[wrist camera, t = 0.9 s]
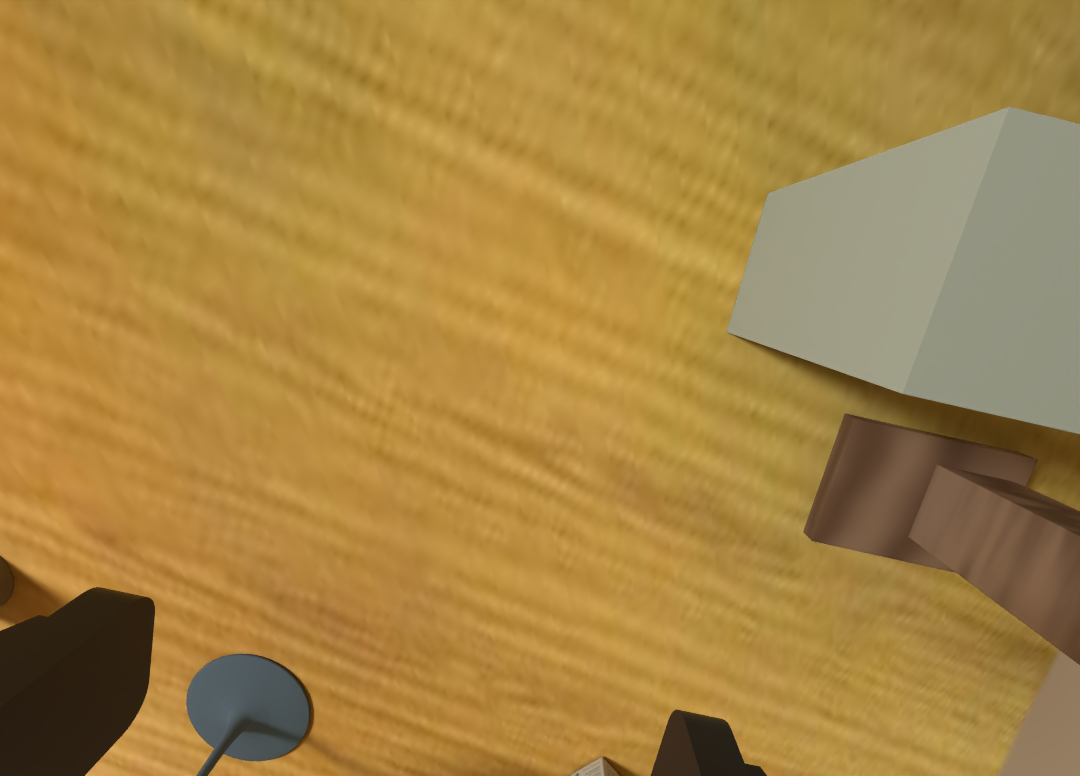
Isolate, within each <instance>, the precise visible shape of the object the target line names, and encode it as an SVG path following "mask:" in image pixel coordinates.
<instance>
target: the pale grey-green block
mask: <svg viewBox="0 0 1080 776" xmlns="http://www.w3.org/2000/svg"><path fill="white" fill-rule="evenodd" d="M727 332H728V333H731V334H734V335H736V336H739V337H742V338H745V339H748V340H751V341H754V342H756V343H759V344H762V345H765V346H768V347H771V348H773V349H776V350H779V351H782V352H785V353H788V354H791V355H793V356H796V357H799V358H802V359H805V360H808V361H811V362H813V363H816V364H819V365H822V366H825V367H828V368H830V369H833V370H836V371H839V372H842V373H845V374H848V375H850V376H853V377H856V378H859V379H862V380H865V381H867V382H870V383H873V384H876V385H879V386H882V387H885V388H887V389H890V390H893V391H896V392H899V393H902V394H906V395H910V396H914V397H919V398H923V399H928V400H932V401H936V402H941V403H945V404H950V405H954V406H958V407H963V408H967V409H972V410H976V411H980V412H985V413H989V414H994V415H998V416H1002V417H1007V418H1011V419H1015V420H1020V421H1024V422H1029V423H1033V424H1037V425H1042V426H1046V427H1051V428H1055V429H1059V430H1064V431H1068V432H1073V433H1077V434H1080V124H1078V123H1074V122H1070V121H1066V120H1062V119H1057V118H1053V117H1049V116H1045V115H1041V114H1037V113H1033V112H1029V111H1024V110H1020V109H1016V108H1012V107H1008V108H1005V109H1002V110H999V111H996V112H994V113H991V114H988V115H985V116H982V117H980V118H977V119H974V120H971V121H969V122H966V123H963V124H960V125H957V126H955V127H952V128H949V129H946V130H943V131H941V132H938V133H935V134H932V135H929V136H927V137H924V138H921V139H918V140H916V141H913V142H910V143H907V144H904V145H902V146H899V147H896V148H893V149H890V150H888V151H885V152H882V153H879V154H877V155H874V156H871V157H868V158H865V159H863V160H860V161H857V162H854V163H851V164H849V165H846V166H843V167H840V168H837V169H835V170H832V171H829V172H826V173H824V174H821V175H818V176H815V177H812V178H810V179H807V180H804V181H801V182H798V183H796V184H793V185H790V186H787V187H785V188H782V189H779V190H776V191H773V192H771V193H768V195H767V198H766V201H765V205H764V208H763V211H762V215H761V218H760V221H759V225H758V228H757V232H756V235H755V238H754V242H753V245H752V248H751V252H750V255H749V259H748V262H747V265H746V269H745V272H744V275H743V279H742V282H741V286H740V289H739V292H738V296H737V299H736V302H735V306H734V309H733V313H732V316H731V319H730V323H729V326H728V329H727Z"/></svg>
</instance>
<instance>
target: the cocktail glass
mask: <svg viewBox="0 0 1080 776" xmlns="http://www.w3.org/2000/svg"><path fill="white" fill-rule="evenodd" d="M187 710H188V715H189V718H190V721H191V723H192V724H193V726H194V728H195V730H196V731H197V732H198V734H199V735H200V736H201V737H202V738H203V739H204V740H205V741H206V742H207V743H208V744H209V745H210V746H212V747H213V748H214V750H213V752H212V753H211V755H210V756H209V758H208V759H207V761H206V762H205V764H204V765H203V767H202V768H201V770H200V771H199V773H198V774H197V776H208V774H209V773H210V772H211V770H212V769H213V767H214V766H215V764H216V763H217V762H218V760H219V759H220V758H221V756H222V755H223V754H225V755H228V756H230V757H233V758H236V759H240V760H246V761H265V760H271V759H274V758H277V757H280V756H282V755H284V754H286V753H288V752H289V751H290V750H292V749H293V748H294V747H295V746H296V745H297V744H298V743H299V742H300V741H301V739H302V738H303V736H304V735H305V733H306V730H307V728H308V725H309V719H310V707H309V702H308V699H307V696H306V693H305V691H304V690H303V688H302V686H301V684H300V683H299V682H298V681H297V679H296V678H295V677H294V676H293V675H292V674H291V673H290V672H289V671H288V670H286V669H285V668H283V667H282V666H281V665H279V664H277V663H275V662H273V661H271V660H269V659H266V658H263V657H260V656H255V655H249V654H234V655H228V656H223V657H220V658H218V659H215V660H213V661H211V662H210V663H208V664H207V665H205V666H204V667H203V668H202V669H201V670H200V671H199V672H198V673H197V674H196V675H195V677H194V678H193V680H192V682H191V684H190V686H189V689H188V693H187Z"/></svg>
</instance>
